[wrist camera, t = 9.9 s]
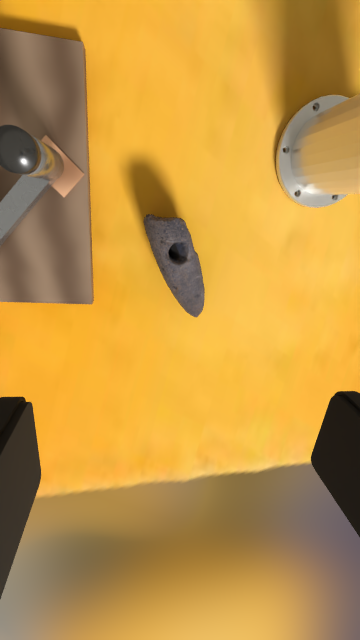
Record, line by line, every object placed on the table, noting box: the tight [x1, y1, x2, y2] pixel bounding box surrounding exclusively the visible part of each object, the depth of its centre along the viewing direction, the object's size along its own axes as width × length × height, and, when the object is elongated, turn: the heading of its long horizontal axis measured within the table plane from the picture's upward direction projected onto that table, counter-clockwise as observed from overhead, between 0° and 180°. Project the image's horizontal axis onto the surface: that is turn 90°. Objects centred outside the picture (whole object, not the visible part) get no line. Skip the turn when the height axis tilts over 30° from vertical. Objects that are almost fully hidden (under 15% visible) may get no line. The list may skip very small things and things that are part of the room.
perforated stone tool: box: [144, 214, 204, 317], centre depth 37 cm, size 15×5×7 cm, turn 18°
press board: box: [0, 28, 94, 304], centre depth 33 cm, size 19×28×2 cm
